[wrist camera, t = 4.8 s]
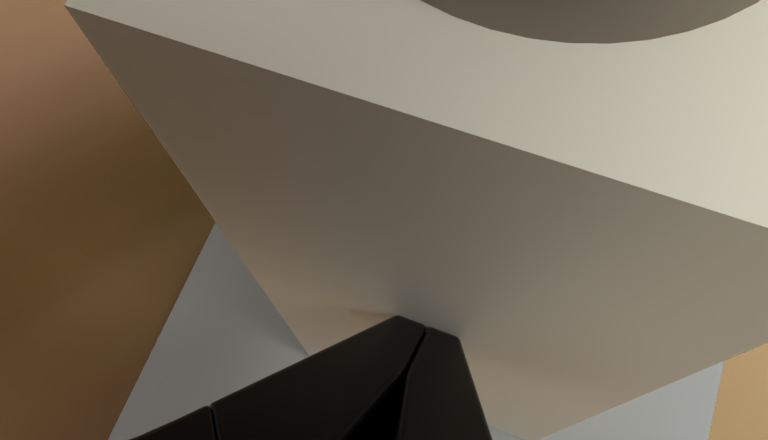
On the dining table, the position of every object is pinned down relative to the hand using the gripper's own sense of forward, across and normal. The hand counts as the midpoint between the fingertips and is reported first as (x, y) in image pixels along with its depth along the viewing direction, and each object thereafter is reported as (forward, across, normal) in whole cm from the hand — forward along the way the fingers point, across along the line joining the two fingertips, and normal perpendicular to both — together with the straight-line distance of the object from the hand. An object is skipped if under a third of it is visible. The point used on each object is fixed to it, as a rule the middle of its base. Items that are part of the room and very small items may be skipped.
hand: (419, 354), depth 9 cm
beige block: (+7, 0, +3) cm, 7 cm away
